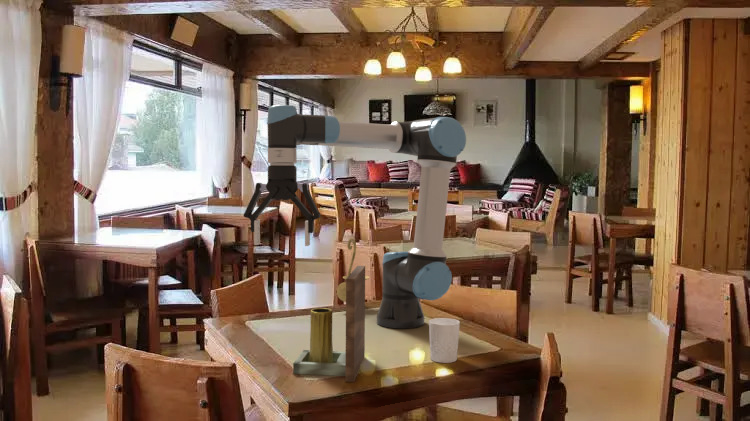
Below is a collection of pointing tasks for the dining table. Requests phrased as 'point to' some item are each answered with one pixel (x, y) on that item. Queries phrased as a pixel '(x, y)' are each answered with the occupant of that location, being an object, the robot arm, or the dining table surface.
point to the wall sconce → (342, 287)
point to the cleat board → (355, 336)
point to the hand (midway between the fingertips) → (282, 245)
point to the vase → (321, 336)
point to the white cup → (444, 339)
